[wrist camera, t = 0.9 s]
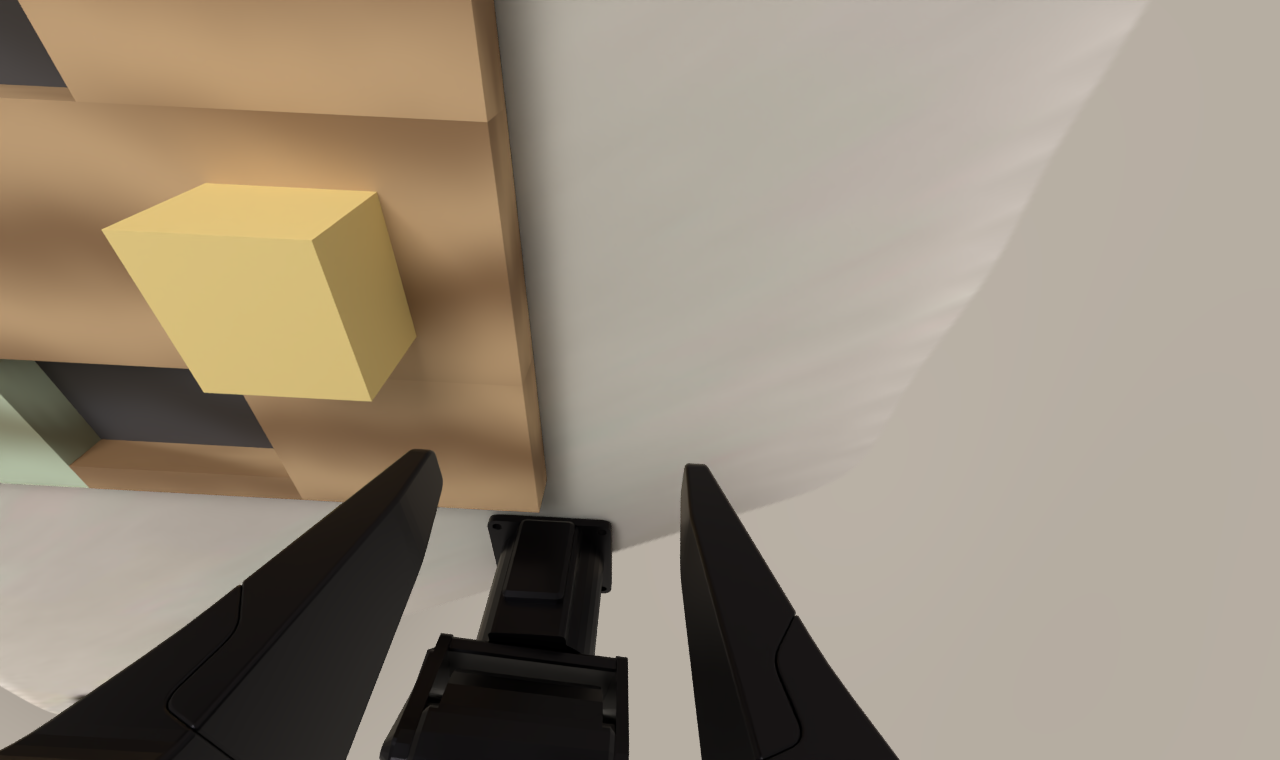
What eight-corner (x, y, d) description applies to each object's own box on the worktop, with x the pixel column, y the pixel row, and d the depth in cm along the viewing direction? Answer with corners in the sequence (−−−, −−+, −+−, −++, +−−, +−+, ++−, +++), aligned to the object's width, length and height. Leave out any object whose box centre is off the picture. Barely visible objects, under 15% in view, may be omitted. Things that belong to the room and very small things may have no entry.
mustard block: (416, 336, 18) (371, 401, 15) (274, 329, 18) (203, 392, 15) (377, 191, 15) (311, 240, 12) (205, 183, 15) (101, 229, 12)
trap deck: (546, 479, 25) (538, 512, 24) (-95, 444, 26) (-145, 475, 24) (460, -299, 11) (425, -348, 9) (-1062, -368, 11) (-1357, -426, 9)
